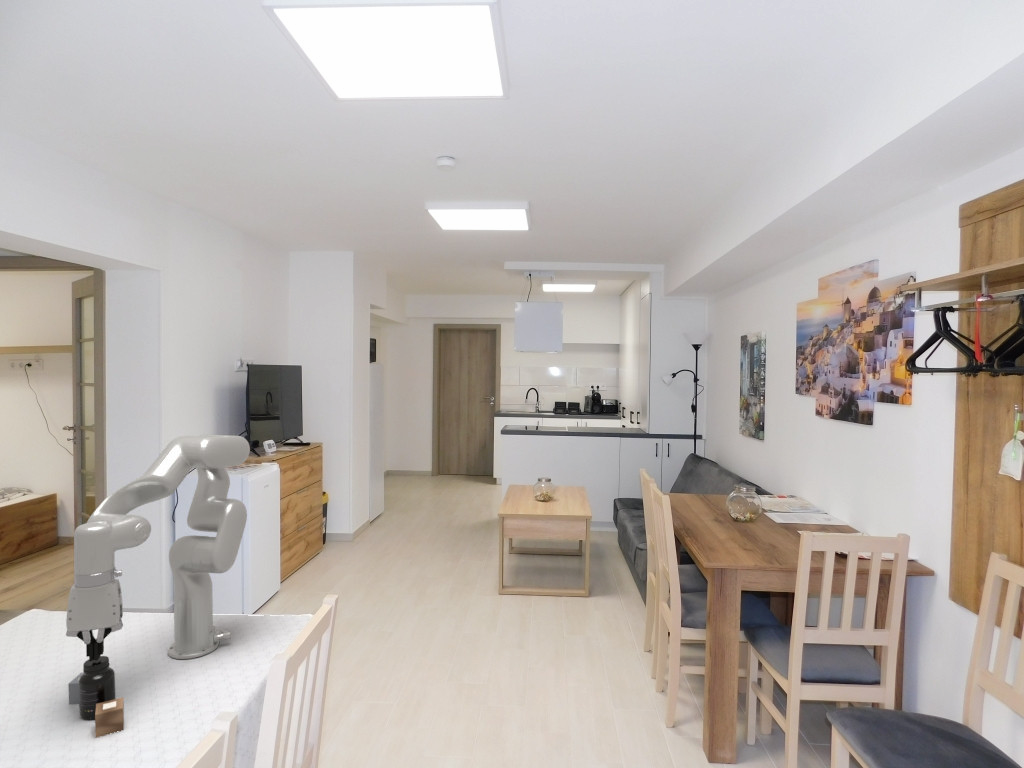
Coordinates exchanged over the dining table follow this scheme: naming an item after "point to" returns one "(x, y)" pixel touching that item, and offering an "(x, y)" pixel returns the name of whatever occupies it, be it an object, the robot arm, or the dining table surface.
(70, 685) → the slate grey block
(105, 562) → the robot arm
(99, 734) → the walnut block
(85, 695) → the supplement bottle
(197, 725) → the dining table surface
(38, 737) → the dining table surface
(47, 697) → the dining table surface
